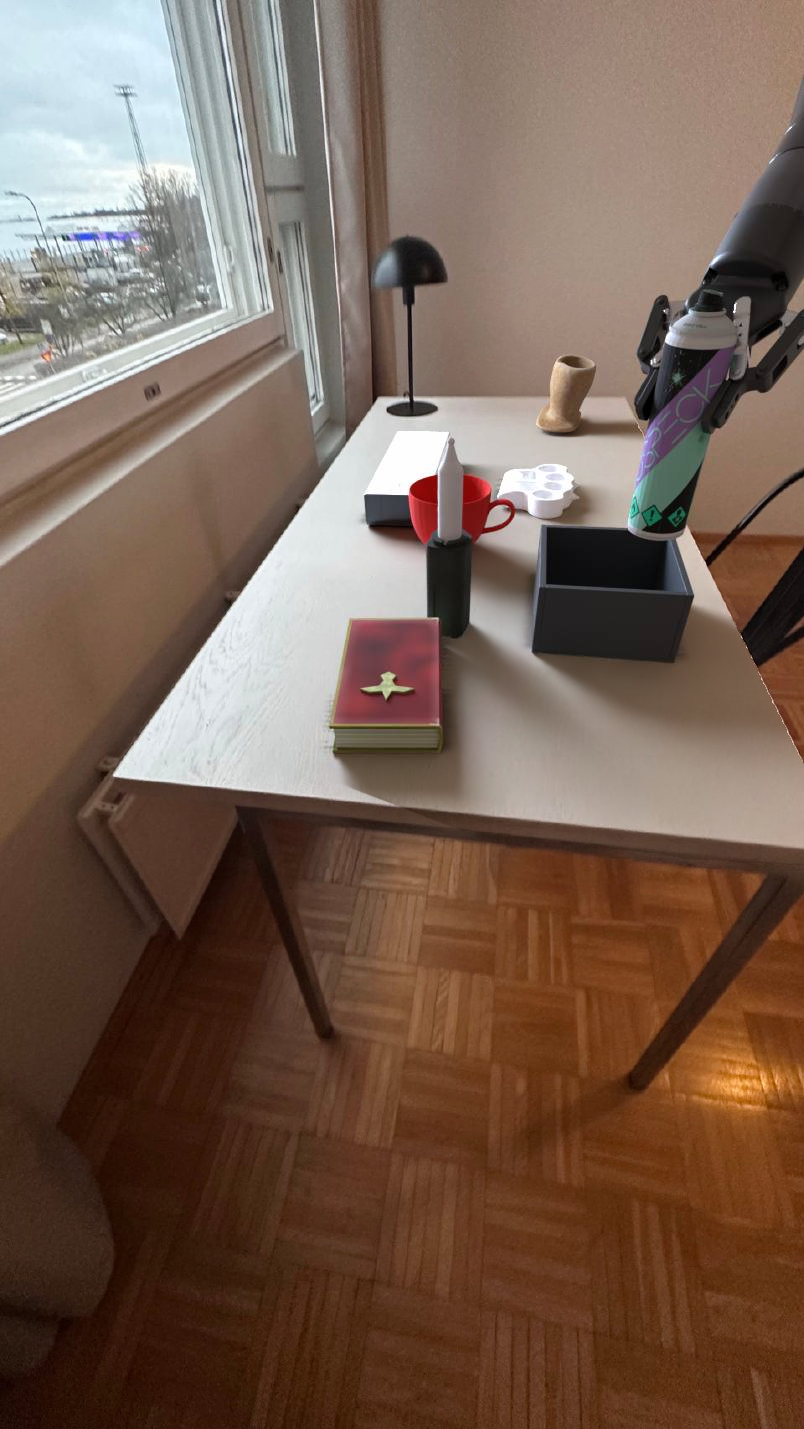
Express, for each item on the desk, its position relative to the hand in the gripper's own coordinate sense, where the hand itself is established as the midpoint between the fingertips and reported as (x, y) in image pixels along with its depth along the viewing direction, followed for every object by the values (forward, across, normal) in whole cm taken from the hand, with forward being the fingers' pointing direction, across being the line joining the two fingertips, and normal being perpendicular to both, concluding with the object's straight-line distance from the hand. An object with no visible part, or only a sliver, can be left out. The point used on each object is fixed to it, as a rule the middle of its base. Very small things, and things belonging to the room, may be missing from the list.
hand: (672, 421), depth 55 cm
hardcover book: (+34, +19, -9) cm, 40 cm away
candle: (+24, +24, -20) cm, 39 cm away
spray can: (+6, 0, -9) cm, 11 cm away
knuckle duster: (-7, +40, -51) cm, 65 cm away
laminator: (+2, +61, -42) cm, 74 cm away
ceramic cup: (+11, +38, -33) cm, 51 cm away
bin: (+13, +9, -30) cm, 34 cm away
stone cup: (-34, +61, -79) cm, 105 cm away
